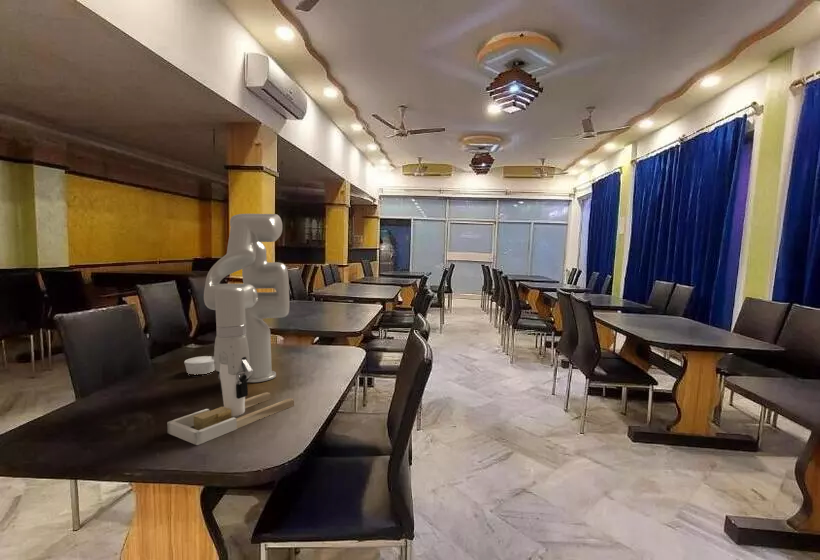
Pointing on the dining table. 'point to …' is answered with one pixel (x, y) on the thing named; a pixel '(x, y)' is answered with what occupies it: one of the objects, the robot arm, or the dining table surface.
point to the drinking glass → (231, 391)
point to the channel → (262, 412)
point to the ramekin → (200, 365)
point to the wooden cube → (222, 414)
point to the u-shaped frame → (197, 437)
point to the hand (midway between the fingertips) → (234, 394)
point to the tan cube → (204, 420)
